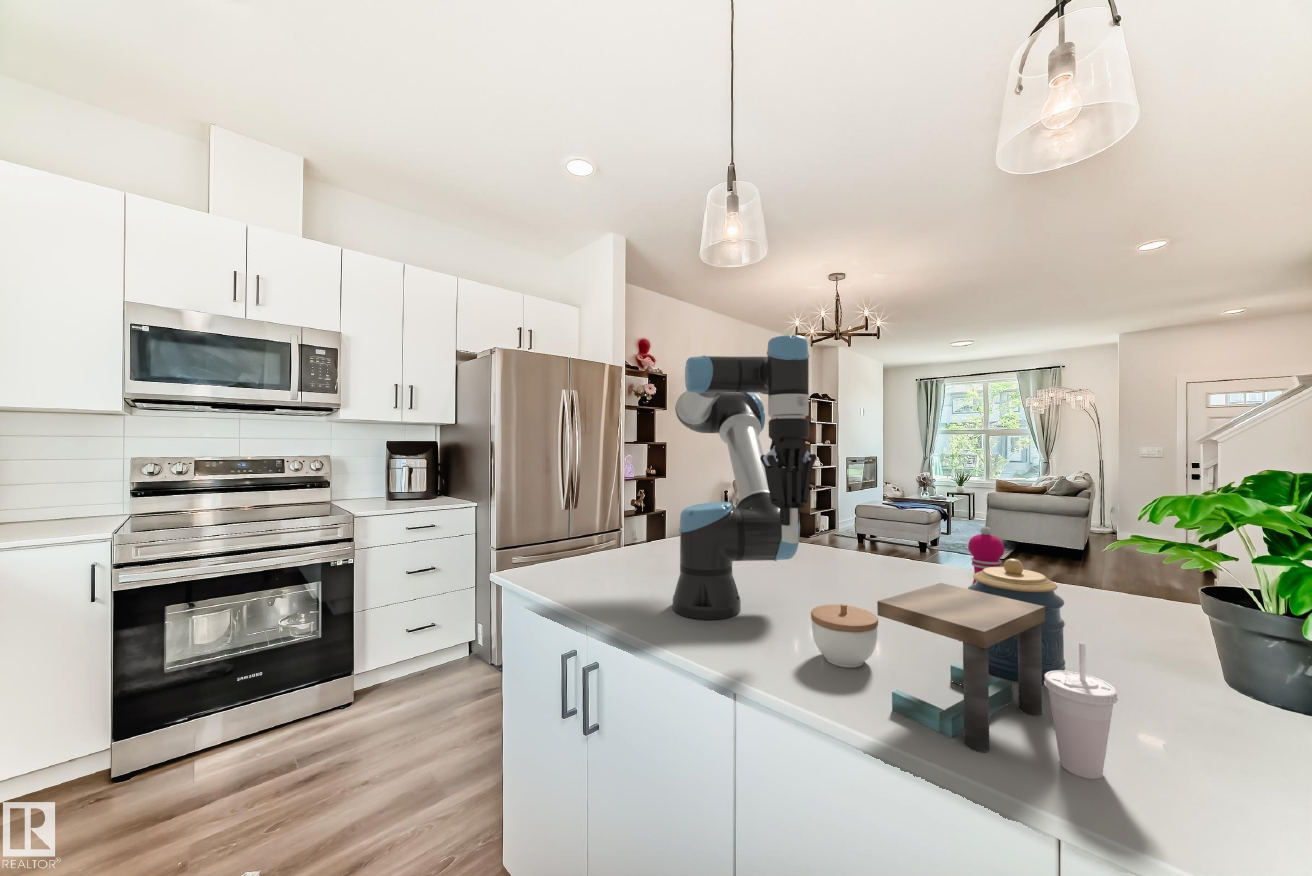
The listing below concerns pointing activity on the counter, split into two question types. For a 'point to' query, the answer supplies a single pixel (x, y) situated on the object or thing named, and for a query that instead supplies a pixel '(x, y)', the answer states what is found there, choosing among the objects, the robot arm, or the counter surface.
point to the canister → (1031, 590)
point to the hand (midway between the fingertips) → (789, 542)
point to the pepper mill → (985, 550)
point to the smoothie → (1081, 718)
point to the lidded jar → (844, 634)
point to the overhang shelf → (972, 655)
